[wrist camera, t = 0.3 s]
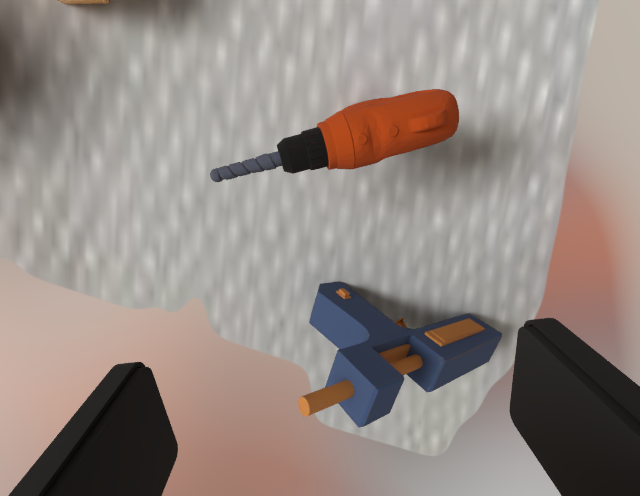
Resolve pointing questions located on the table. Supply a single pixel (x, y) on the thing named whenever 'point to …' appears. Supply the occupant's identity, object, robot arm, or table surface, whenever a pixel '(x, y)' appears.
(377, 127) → the toy drill
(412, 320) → the table surface
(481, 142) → the table surface
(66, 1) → the orange rectangular block
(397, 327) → the glue gun
